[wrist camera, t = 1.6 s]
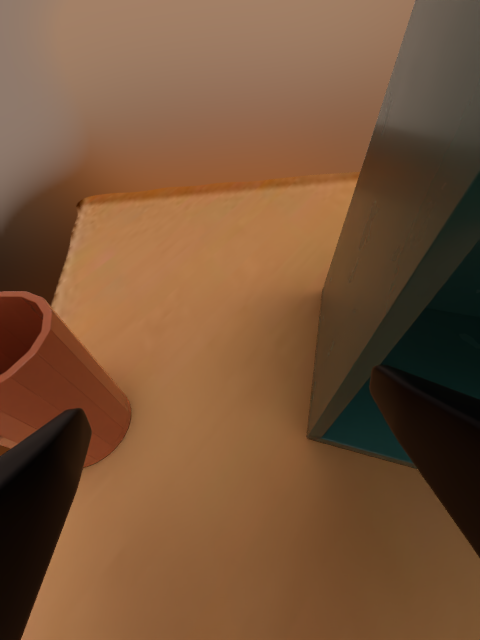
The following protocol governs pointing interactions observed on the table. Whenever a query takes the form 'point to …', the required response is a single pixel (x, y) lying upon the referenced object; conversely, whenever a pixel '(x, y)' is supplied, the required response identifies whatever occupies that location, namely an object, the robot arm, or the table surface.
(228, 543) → the table surface
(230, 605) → the table surface
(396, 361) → the teal storage box
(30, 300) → the clay cup
